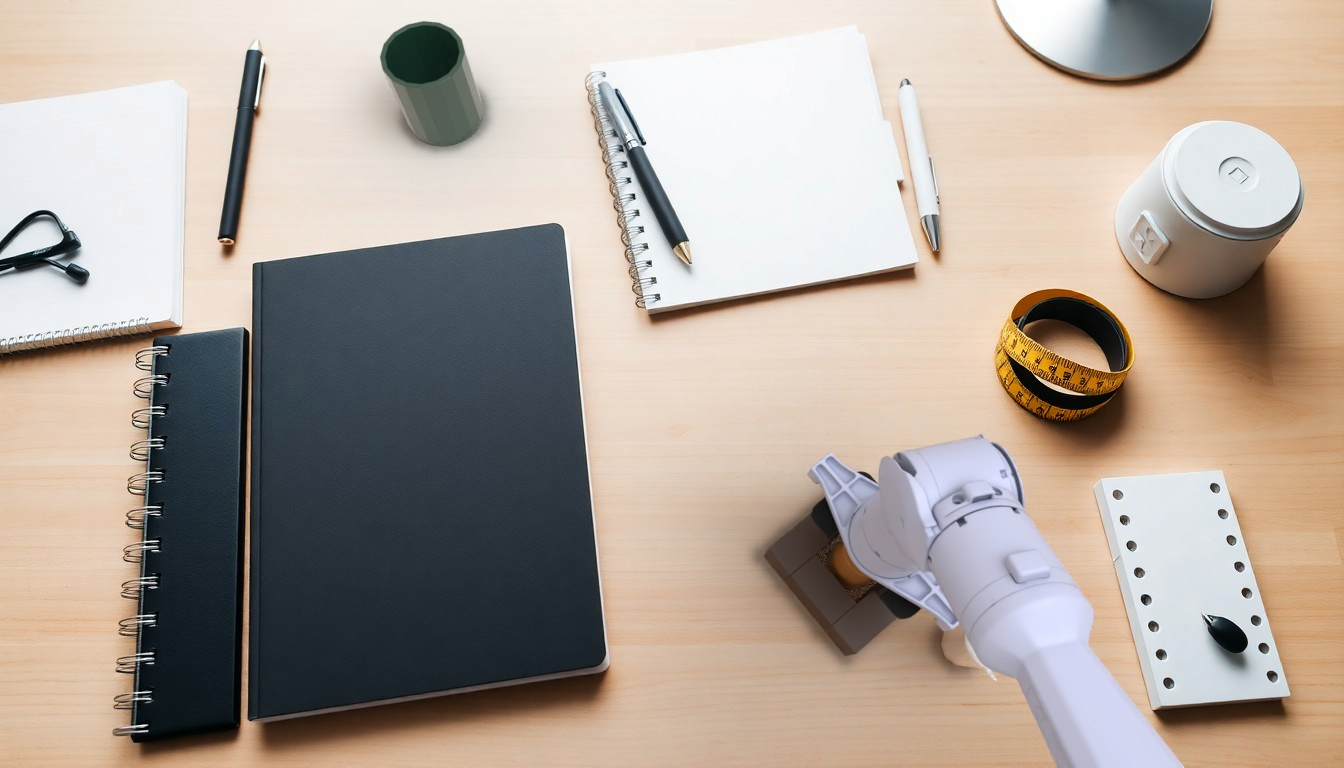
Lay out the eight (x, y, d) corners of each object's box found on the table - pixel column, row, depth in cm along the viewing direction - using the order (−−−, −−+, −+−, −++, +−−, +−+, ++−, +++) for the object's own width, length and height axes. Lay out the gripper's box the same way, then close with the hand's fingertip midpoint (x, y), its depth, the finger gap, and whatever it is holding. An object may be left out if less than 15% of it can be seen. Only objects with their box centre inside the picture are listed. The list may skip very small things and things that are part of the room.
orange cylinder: (881, 570, 72) (905, 555, 64) (847, 599, 71) (867, 587, 64) (850, 534, 73) (870, 515, 66) (816, 562, 72) (832, 546, 65)
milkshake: (923, 671, 69) (963, 667, 59) (941, 609, 71) (982, 596, 61) (976, 692, 68) (1025, 692, 59) (993, 630, 70) (1042, 620, 61)
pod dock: (936, 576, 72) (950, 569, 68) (845, 656, 69) (855, 654, 66) (852, 482, 74) (862, 470, 71) (762, 555, 72) (767, 548, 68)
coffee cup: (498, 119, 88) (479, 59, 80) (434, 159, 86) (409, 101, 78) (456, 72, 90) (434, 8, 82) (393, 109, 89) (364, 48, 80)
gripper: (1029, 575, 53) (960, 597, 66) (874, 408, 57) (837, 459, 70) (951, 646, 52) (896, 655, 65) (798, 469, 56) (774, 511, 69)
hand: (861, 557), depth 67 cm, fingers open, 5 cm apart
